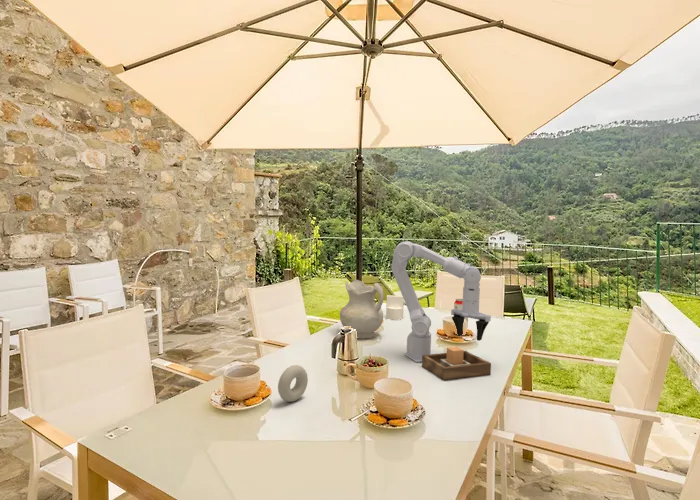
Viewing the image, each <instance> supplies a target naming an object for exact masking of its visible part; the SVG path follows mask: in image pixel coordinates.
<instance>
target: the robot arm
mask: <svg viewBox="0 0 700 500" xmlns="http://www.w3.org/2000/svg"><path fill="white" fill-rule="evenodd" d="M412 257H413V258H424V259H426V260H429V261H431V262H433V263H435V264H438V265H440V266H442V268H443V271H445V272H446V273H448V274H451V275H452V276H454V277H456V278H458V279H463V281H464V282H463V283H464V284H463V287H462V299H463V305H462V310H457V309H454V308H452V309H451V310H450V311H451V312H450V315H452V317H451V319H452V321H453V322H454V323H455V326H456V329H457V334H458V335H457V337H462V334H463V323H464V318H465V317H468V319H472V320H473V319H474V320H476V321H475V324H476V341H478V342H479V341H482V339H483V335H484V332H485V330H486V328H487V326H488V325H489V323H490V322H491V321H492V320H491V319H492V318H491V317H492V316H491V315H489V314H485V313H481V312H480V297H481V296H480V295H481V294H480V291H481V290H480V286H481V283H480V281H481V279H482V275H481V272H480V269H478V267H475V265H471V263H470V262H468V263H467V262H464V261H462V260H459V257H457V256H454V257H453V256H449V257H445V256H444V255H441V254H439V253H437V252H436V251H433V250H431V249H429V248H427V247H425V246H423V245H421V244H418V243H413V242H412V241H409V240H405V241H401V242H400V243H398V244H397V245H396V247H395V249H394V250H393V254H392V261H391V272H392V275H393V276H394V279H395V281H396V285H397V286H398V288H399V292H400V294H401V296H403V298H404V304H405V306H406V308H407V311H408V313H409V314H408V315H409V319H410V321H411V332H409V334H408V335H407V338H406V352H405V353H404V356H406V357H408V358H409V359H411V360H412V361H414V362H415V363H422V355H431V352H432V351H431V348H432V333H431V332H430V329H431V326H432V321H431V319H430V317H429V316H428V315H427V314H426V313H425V310H424V309H423V307H422V305H421V302H420V301H419V299H418V296H417V293H416V291H415V289H414V286H413V284H412V281H411V279H410V277H409V274H408V271H407V269H406V267H407V266H408V263H409V262H410V259H412Z"/></svg>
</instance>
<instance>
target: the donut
mask: <svg viewBox="0 0 700 500" xmlns="http://www.w3.org/2000/svg"><path fill="white" fill-rule="evenodd" d="M294 379H295V383H294V386H292V388H291V384H292V382H293V380H294ZM308 380H309V379H308V373H307V370H306V369H304V367H303V366H301V365H298V364H294V365H290V366H289V367H287V368H285V370H284V371H283V372H282V373H281V375H280V377H279V380H278V382H277V383H278V384H277V392H278V394H279V396H280V398H281V399H282V401H284V402H289V403H292V402H296V401H298V400H299V399H300V398H301V397H302V396H303V395H304V393H305V392H306V389H307V387H308V383H309V381H308Z"/></svg>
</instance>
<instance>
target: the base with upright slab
mask: <svg viewBox="0 0 700 500" xmlns="http://www.w3.org/2000/svg"><path fill="white" fill-rule="evenodd" d="M385 304H386V308H385V309H386V310H385V312H386V313H385V318H387V319H386V320H388V319H391V320H390V321H400V320H399V319H403V320H404V305H405V301H404V298H403V296H402V295H392V294H390V295H389V294H387V295H386V303H385Z"/></svg>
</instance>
